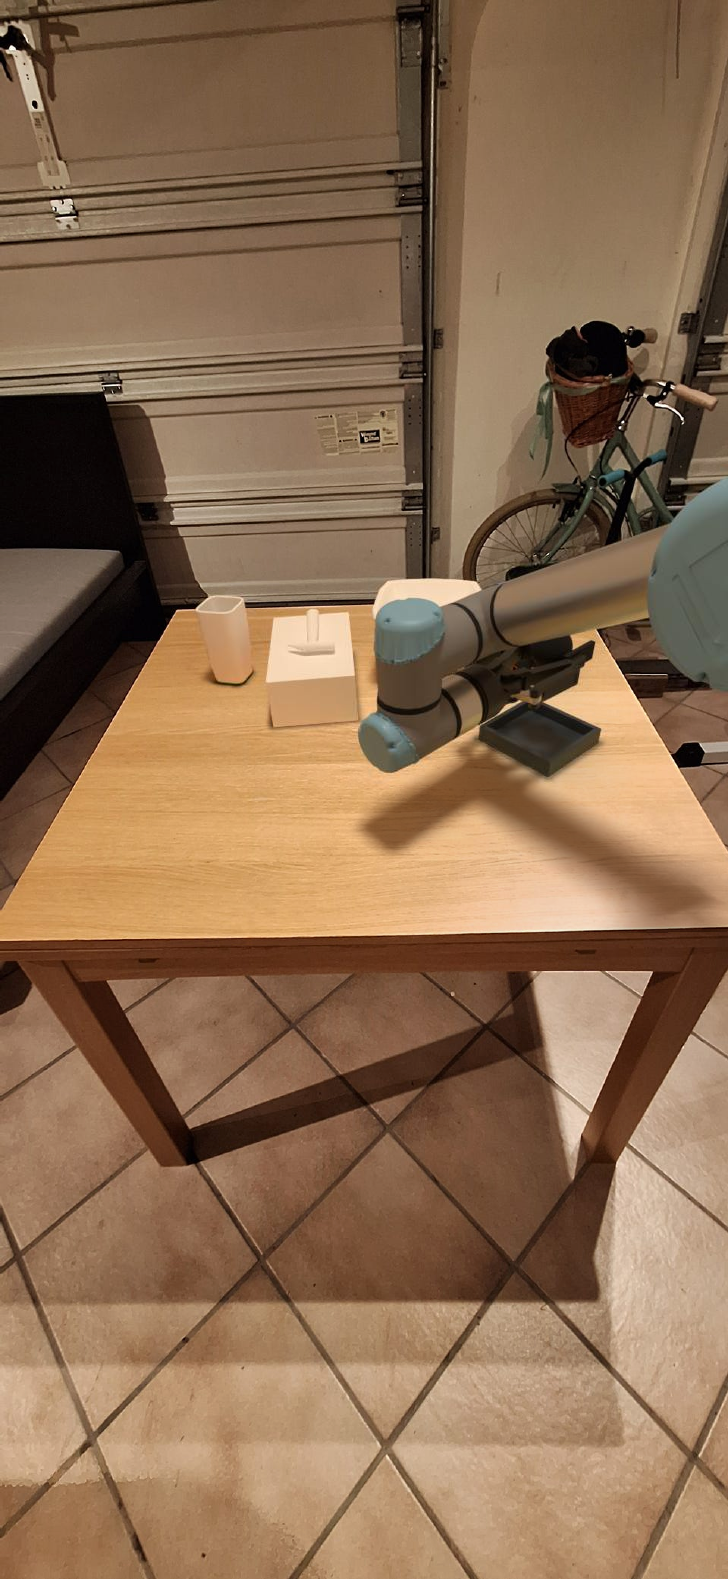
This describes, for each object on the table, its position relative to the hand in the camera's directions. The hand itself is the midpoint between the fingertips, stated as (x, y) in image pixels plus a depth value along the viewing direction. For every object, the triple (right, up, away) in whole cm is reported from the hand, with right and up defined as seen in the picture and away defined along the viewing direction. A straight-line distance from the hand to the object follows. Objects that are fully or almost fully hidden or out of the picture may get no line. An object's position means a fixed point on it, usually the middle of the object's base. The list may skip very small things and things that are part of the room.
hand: (572, 642), depth 93 cm
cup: (-55, 0, +29) cm, 62 cm away
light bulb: (-4, -7, +1) cm, 8 cm away
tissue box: (-40, -3, +24) cm, 47 cm away
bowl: (-19, +1, +27) cm, 33 cm away
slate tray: (-3, -14, +7) cm, 16 cm away
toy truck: (+1, +3, +28) cm, 28 cm away
